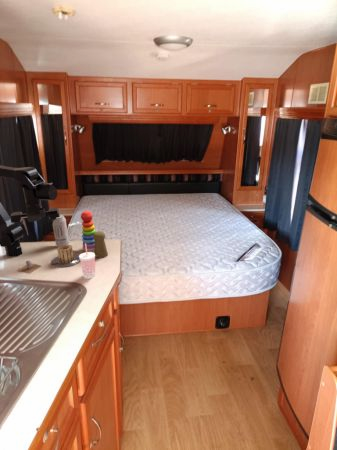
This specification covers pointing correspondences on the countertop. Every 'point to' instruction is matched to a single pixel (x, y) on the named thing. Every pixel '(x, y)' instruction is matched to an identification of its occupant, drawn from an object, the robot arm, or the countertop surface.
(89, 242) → the stacking toy
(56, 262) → the disc
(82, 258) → the beverage cup
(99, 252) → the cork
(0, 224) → the robot arm
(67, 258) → the tan hollow faceted cylinder
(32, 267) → the stand
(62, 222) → the energy drink can
